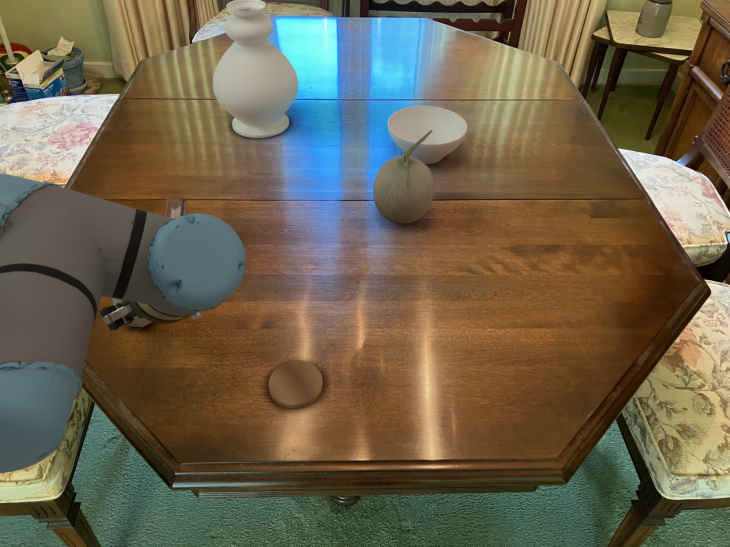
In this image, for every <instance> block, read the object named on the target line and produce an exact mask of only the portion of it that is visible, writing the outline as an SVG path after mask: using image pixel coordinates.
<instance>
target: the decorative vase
mask: <svg viewBox="0 0 730 547" xmlns="http://www.w3.org/2000/svg"><path fill="white" fill-rule="evenodd" d="M225 7H226V11H227V13H229V14H230V15H229V16H228V18H226V20H225V22H224V25H223V28H224V32H225V34H226V36H227V37H229V38H230V40H232V41H233V42H232V43H231V45H230V46H229V47H228V48H227V50H226V51H225V52H224V53H223V54H222V56H221V58H220V59H219V61H218V63H217V65H216V67H215V69H214V72H213V76H212V90H213V94H214V97H215V99H216V101H217V102H218V104H220V105H221V107H222V108H223V109H225V111H227V113H229V114H230V115H231V116H232V117H233V119H232V120H231V127H232V129H233V131H234V132H235V133H236V134H238V135H240V136H241V137H246V138H252V139H266V138H270V137H274V136H277V135H280V134H282V133H284V132H285V131H286V130H287V129H288V127H289V126H290V118H289V116H288V115H287V114H286V113H287V111H288V110H289V109H290V108H291V106H292V105H293V103H294V101H295V100H296V98H297V95H298V93H299V79H298V75H297V72H296V69H295V68H294V66H293V64H292V63H291V62H290V60H289V59H288V58H287V56H286V55H285V54H284V53H283V52H282V51H281V50H280V49H279V48H278V47H277V46H275V45H274V44H272V43H271V41H269V40H268V38H270V36H271V35H272V33H273V30H274V23H273V21H272V19H271V18H270V17H269V16H268V15H267V14H265V13H264V12H266V10H267V4H266V2H265V1H263V0H232V1H229V2H228V3H227V4H226V5H225Z"/></svg>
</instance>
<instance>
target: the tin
mask: <svg viewBox="0 0 730 547" xmlns="http://www.w3.org/2000/svg"><path fill="white" fill-rule="evenodd" d="M164 213H165V214H164V216H166V217H169V218H178V217H180V216H184V215H187V214H188V209H187V199H186V198H185V197H184V196H183V197H182V196H181V197H179V196H178V197H177V196H175V197H171V196H168V197H167V200H166V206H165V212H164Z"/></svg>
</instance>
